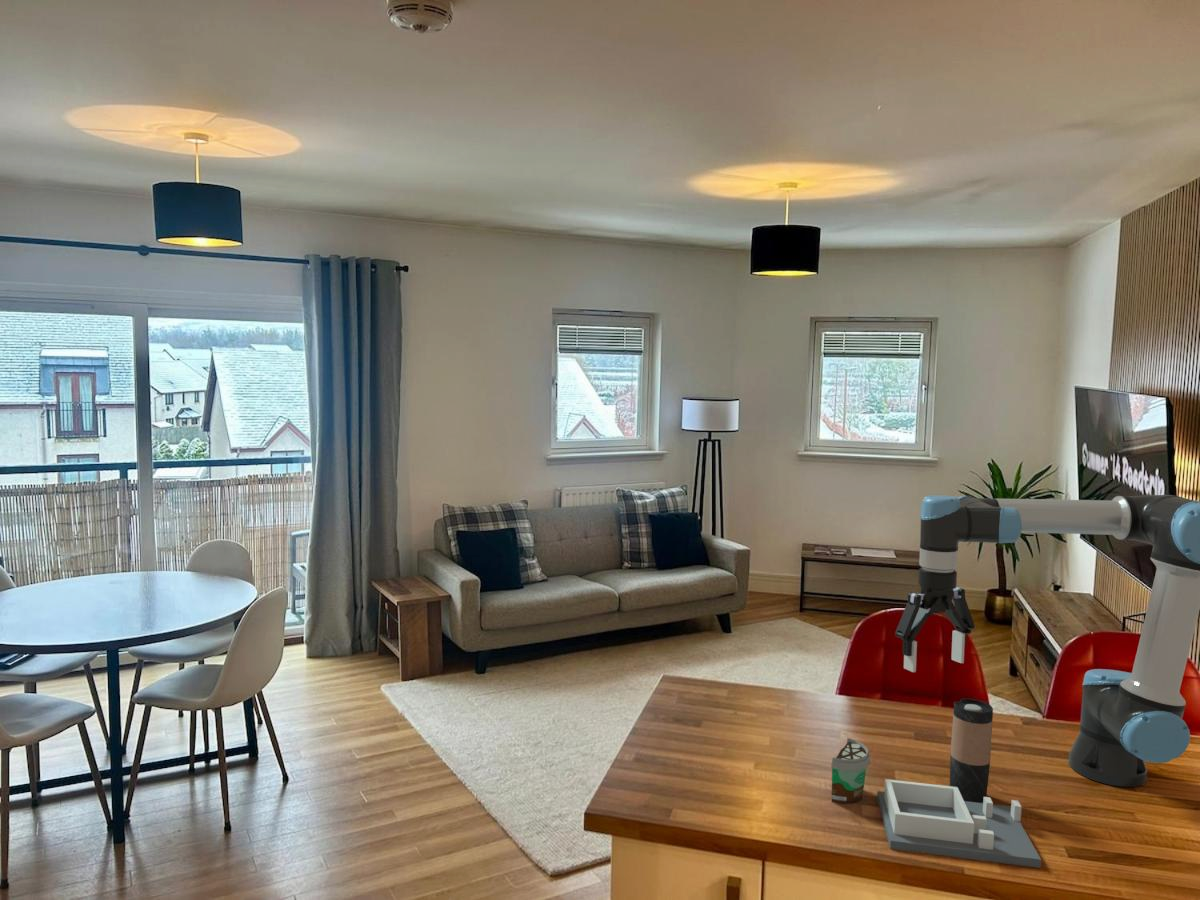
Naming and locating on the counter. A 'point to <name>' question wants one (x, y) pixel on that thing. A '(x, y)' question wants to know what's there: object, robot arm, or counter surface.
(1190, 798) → the counter surface
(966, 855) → the grey fixture board
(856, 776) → the food container
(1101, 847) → the counter surface
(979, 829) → the clips
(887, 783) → the end holder
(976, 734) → the travel mug
